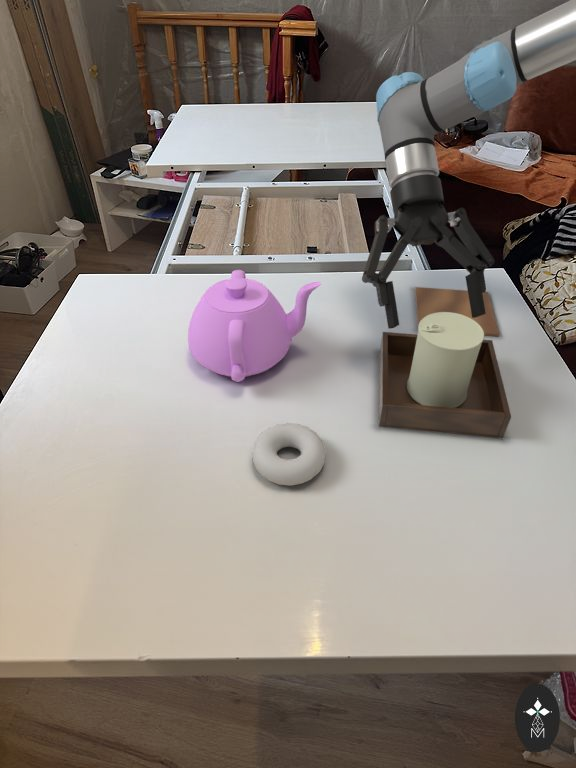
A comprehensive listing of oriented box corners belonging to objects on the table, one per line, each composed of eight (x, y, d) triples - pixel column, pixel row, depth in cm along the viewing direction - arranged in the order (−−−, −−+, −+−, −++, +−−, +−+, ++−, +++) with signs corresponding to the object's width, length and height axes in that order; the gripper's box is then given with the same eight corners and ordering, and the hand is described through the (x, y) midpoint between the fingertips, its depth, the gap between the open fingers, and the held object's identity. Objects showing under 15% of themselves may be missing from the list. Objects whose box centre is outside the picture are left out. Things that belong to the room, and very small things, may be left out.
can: (403, 369, 87) (414, 308, 79) (460, 371, 86) (477, 309, 78) (410, 409, 80) (424, 346, 72) (472, 411, 80) (493, 347, 72)
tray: (485, 361, 89) (492, 340, 86) (502, 438, 76) (511, 416, 73) (379, 352, 91) (382, 331, 88) (378, 426, 78) (382, 405, 75)
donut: (336, 478, 71) (309, 426, 78) (338, 462, 68) (310, 410, 75) (265, 500, 68) (243, 444, 75) (265, 484, 66) (242, 427, 73)
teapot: (324, 393, 83) (329, 320, 74) (184, 398, 82) (171, 325, 73) (312, 313, 99) (314, 246, 90) (195, 317, 99) (186, 249, 89)
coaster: (487, 294, 104) (488, 291, 104) (498, 336, 94) (499, 334, 94) (414, 289, 106) (415, 286, 105) (418, 330, 95) (418, 328, 95)
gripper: (478, 187, 86) (499, 316, 85) (329, 200, 82) (350, 335, 81) (503, 165, 79) (527, 306, 78) (341, 178, 75) (364, 327, 74)
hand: (436, 321), depth 79 cm, fingers open, 13 cm apart
